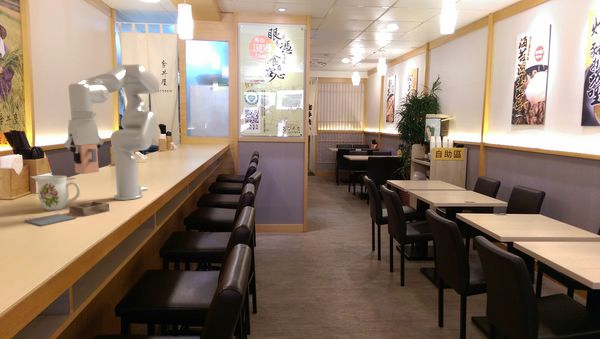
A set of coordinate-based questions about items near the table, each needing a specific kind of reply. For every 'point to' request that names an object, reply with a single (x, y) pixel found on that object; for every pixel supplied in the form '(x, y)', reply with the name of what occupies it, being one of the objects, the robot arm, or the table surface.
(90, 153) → the peach block with tab
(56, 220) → the rubber mat
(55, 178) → the pitcher
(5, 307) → the table surface
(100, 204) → the frame
